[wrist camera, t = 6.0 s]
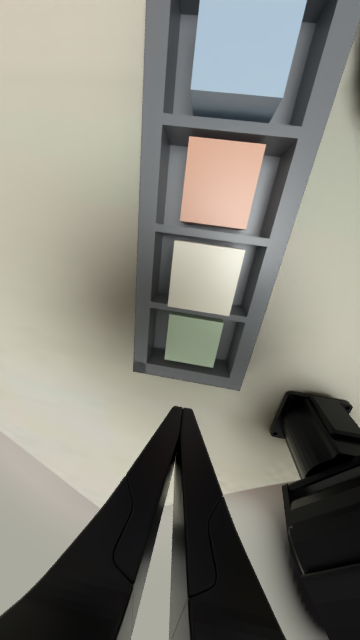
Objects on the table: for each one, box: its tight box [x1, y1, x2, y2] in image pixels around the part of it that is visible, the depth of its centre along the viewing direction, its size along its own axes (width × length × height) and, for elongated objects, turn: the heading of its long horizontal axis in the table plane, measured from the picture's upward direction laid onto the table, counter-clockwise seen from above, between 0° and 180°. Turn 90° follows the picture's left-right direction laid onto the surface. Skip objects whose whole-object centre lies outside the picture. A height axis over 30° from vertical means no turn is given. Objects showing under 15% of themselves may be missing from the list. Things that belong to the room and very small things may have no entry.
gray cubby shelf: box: [133, 0, 360, 391], centre depth 14 cm, size 25×10×3 cm, turn 173°
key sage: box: [164, 311, 224, 368], centre depth 18 cm, size 4×4×2 cm
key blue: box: [190, 0, 307, 123], centre depth 9 cm, size 4×4×2 cm
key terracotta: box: [180, 136, 266, 231], centre depth 13 cm, size 4×4×2 cm
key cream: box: [168, 240, 245, 316], centre depth 14 cm, size 4×4×2 cm
